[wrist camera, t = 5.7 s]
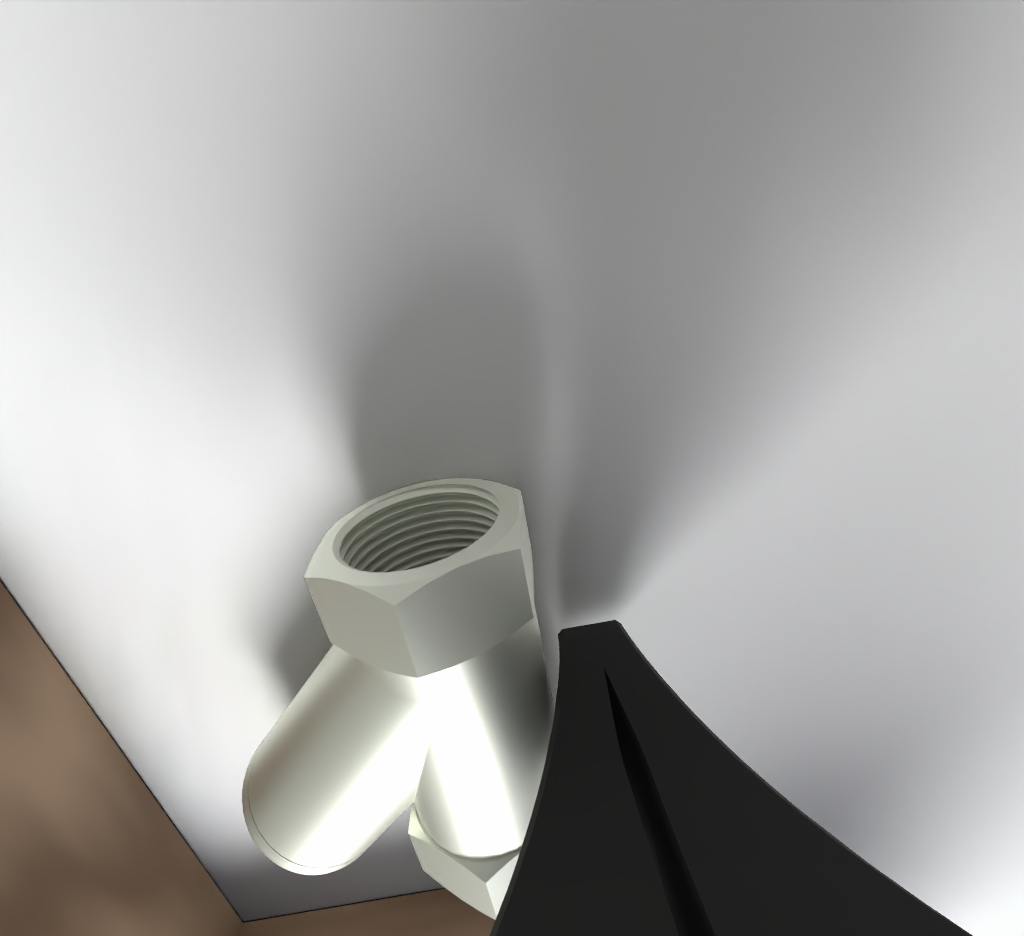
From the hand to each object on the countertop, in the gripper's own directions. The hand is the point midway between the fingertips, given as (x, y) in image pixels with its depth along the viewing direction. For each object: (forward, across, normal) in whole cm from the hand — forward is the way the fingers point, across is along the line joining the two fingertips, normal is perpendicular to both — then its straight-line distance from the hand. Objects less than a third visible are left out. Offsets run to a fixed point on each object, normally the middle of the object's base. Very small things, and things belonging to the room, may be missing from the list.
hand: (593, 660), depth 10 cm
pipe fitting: (+2, +4, 0) cm, 5 cm away
